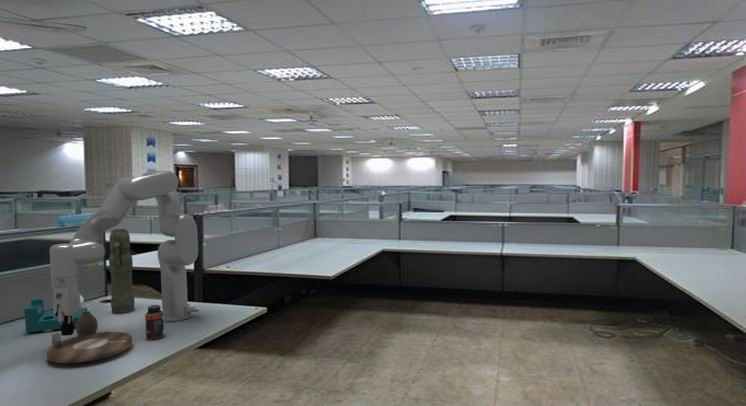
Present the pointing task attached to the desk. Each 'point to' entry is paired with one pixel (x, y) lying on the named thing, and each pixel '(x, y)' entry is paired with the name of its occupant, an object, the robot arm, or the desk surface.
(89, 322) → the vase
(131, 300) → the thermos
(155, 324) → the supplement bottle
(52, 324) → the teal l-shaped bracket
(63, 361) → the disc
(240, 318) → the desk surface
